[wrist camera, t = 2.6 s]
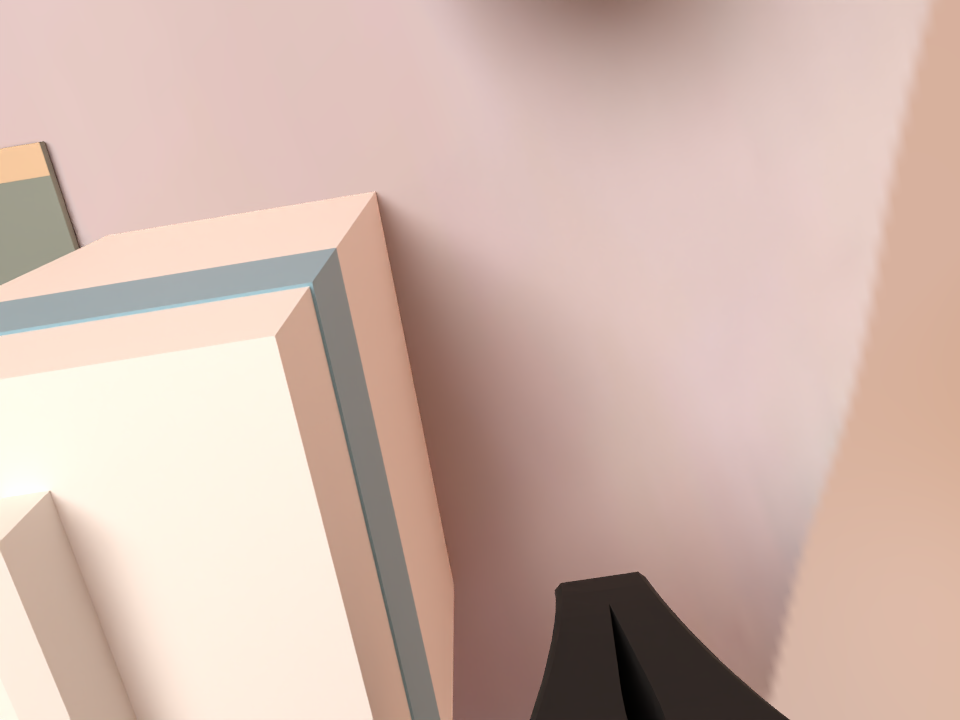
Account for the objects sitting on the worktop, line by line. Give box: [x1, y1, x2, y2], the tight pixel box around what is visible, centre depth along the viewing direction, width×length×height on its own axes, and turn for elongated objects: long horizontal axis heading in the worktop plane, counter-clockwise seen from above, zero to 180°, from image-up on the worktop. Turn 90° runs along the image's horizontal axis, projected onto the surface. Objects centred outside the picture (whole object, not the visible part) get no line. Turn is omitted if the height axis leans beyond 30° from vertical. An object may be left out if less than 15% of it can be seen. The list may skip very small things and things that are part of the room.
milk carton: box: [0, 191, 454, 720], centre depth 17 cm, size 12×7×13 cm, turn 9°
